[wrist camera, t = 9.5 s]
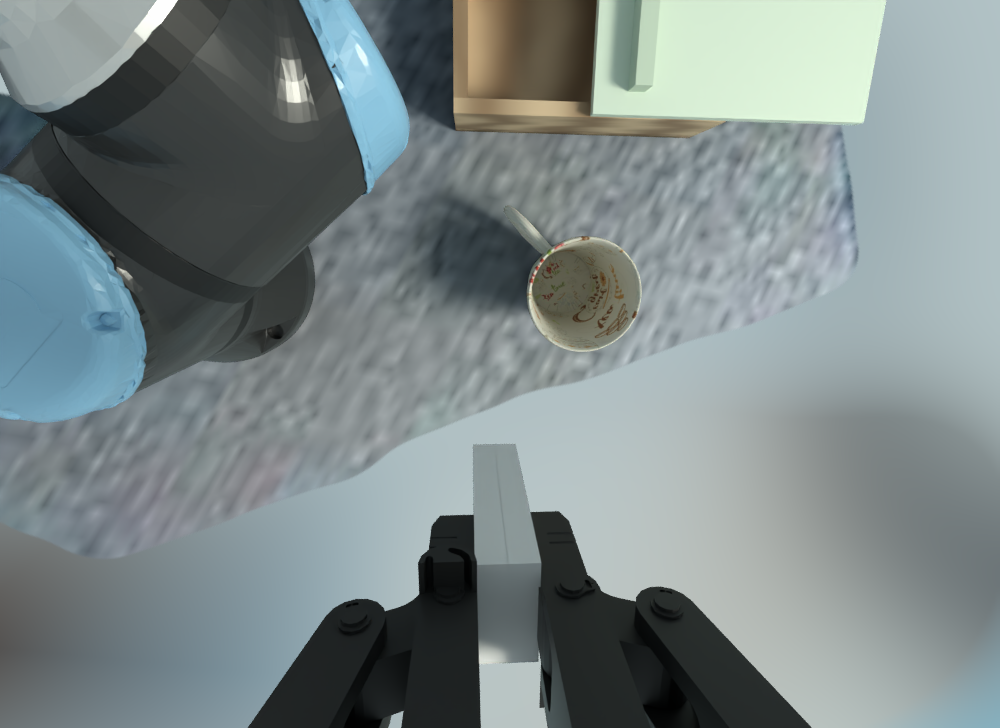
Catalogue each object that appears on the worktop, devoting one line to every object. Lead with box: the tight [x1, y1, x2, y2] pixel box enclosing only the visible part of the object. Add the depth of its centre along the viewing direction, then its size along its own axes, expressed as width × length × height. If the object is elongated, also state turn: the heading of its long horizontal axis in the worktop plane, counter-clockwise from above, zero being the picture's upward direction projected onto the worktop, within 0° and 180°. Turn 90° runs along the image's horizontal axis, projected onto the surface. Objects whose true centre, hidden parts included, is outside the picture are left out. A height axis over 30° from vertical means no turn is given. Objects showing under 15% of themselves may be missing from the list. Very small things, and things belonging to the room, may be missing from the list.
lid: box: [590, 0, 886, 125], centre depth 34 cm, size 20×12×2 cm, turn 89°
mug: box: [504, 206, 641, 352], centre depth 40 cm, size 8×13×10 cm, turn 43°
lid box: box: [453, 0, 725, 138], centre depth 38 cm, size 20×12×6 cm, turn 89°
